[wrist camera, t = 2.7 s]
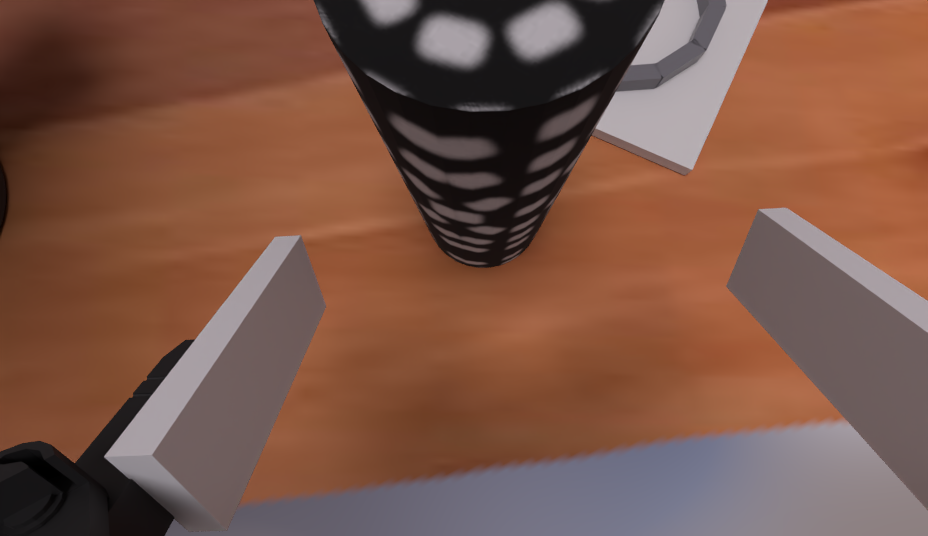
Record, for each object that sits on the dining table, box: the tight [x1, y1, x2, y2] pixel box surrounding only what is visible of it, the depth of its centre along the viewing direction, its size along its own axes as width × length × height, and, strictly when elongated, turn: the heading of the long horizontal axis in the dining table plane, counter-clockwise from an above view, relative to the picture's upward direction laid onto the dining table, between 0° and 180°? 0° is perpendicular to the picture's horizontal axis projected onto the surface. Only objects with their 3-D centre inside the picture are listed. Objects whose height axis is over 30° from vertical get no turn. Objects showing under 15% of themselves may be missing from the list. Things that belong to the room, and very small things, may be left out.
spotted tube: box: [314, 0, 665, 267], centre depth 19 cm, size 8×8×20 cm
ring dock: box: [592, 0, 768, 175], centre depth 30 cm, size 20×20×2 cm
